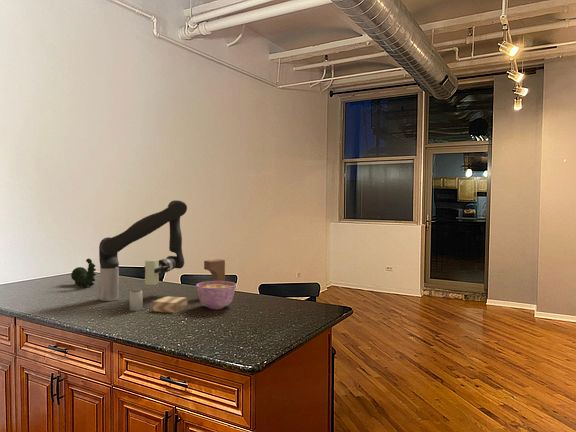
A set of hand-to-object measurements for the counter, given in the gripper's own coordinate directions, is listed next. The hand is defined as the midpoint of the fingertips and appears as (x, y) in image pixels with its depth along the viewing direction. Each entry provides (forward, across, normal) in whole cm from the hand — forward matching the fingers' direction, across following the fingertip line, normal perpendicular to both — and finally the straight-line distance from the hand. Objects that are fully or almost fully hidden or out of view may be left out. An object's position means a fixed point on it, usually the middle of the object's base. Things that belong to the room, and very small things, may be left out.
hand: (149, 270), depth 217 cm
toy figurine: (-43, -63, +18) cm, 78 cm away
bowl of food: (-3, +34, +18) cm, 38 cm away
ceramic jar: (+8, -3, +18) cm, 20 cm away
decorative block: (-30, +25, +18) cm, 43 cm away
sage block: (-3, 0, +7) cm, 7 cm away
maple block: (+4, +13, +18) cm, 23 cm away
